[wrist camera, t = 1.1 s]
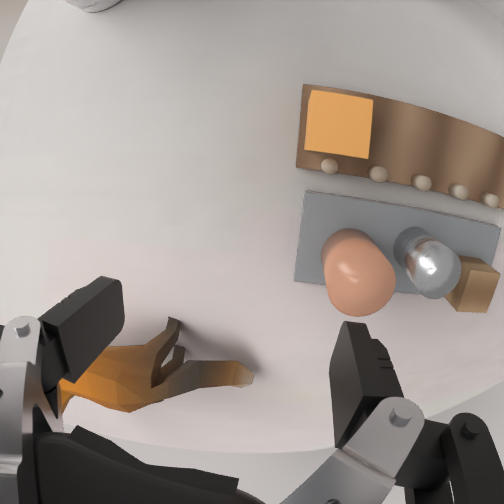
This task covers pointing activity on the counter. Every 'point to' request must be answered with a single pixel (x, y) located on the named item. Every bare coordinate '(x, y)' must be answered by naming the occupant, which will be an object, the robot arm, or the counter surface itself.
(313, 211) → the slate tray
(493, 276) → the oak block
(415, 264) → the metal canister
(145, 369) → the toy
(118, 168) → the counter surface
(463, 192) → the rail
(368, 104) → the orange block
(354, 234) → the salmon domed cylinder
